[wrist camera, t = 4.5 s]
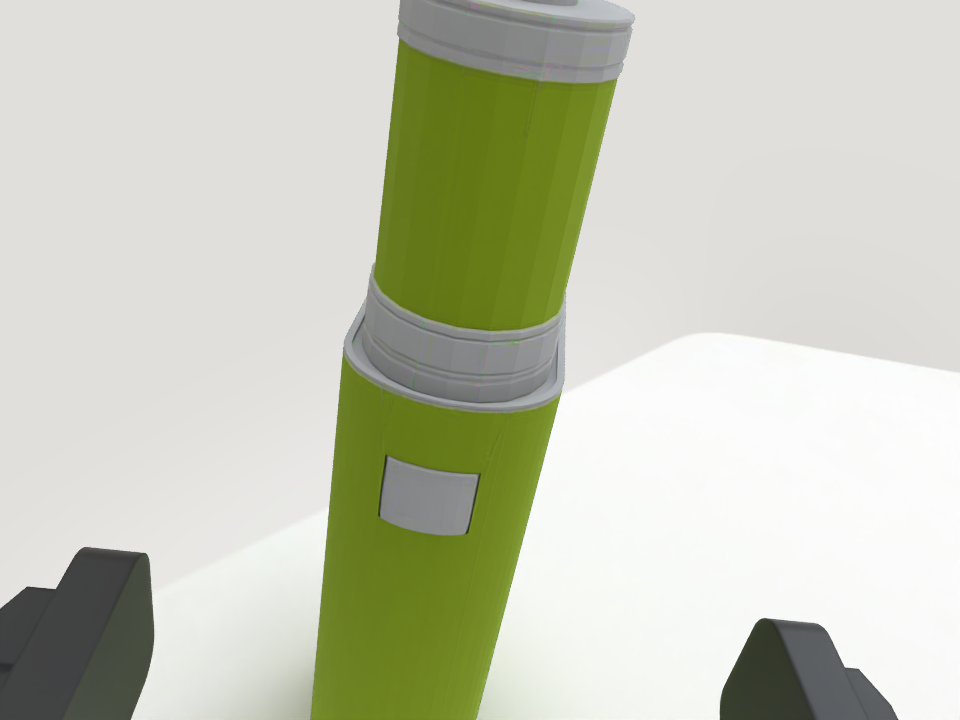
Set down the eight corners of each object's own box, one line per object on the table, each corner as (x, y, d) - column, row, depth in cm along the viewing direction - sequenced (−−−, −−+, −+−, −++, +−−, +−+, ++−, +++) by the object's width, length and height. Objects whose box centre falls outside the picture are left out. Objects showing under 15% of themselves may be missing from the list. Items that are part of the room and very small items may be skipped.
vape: (288, 834, 19) (364, -204, 8) (350, 630, 24) (445, -169, 14) (445, 866, 19) (716, -136, 8) (473, 654, 24) (663, -128, 13)
